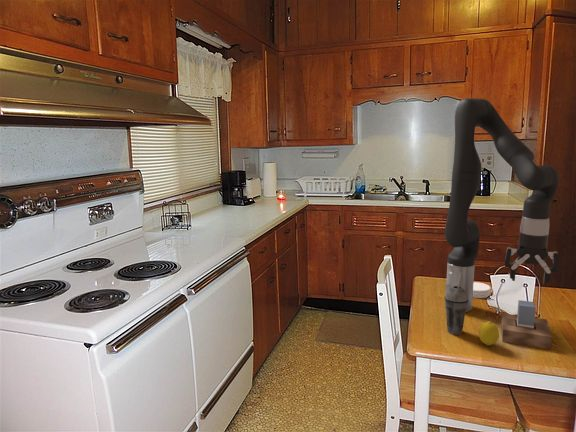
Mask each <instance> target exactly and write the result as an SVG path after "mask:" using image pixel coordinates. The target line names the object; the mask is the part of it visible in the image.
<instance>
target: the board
mask: <svg viewBox="0 0 576 432" xmlns="http://www.w3.org/2000/svg"><path fill="white" fill-rule="evenodd" d="M516 324H517V314H510V313H504V312H502V313H501V322H500V329H501V342H502V343H503V342H504V343H510V344H515V345H520V346H521V345H522V346H528V347H534V348H540V349H547V350H551V349H552V340H553V336H552V333H551V329H550V326H549V322H548V319H547V318H542V317H541V318H540V317H539V318H538V317H535V319H534V329H529V328H522V327H516Z"/></svg>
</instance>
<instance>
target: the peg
mask: <svg viewBox="0 0 576 432" xmlns="http://www.w3.org/2000/svg"><path fill="white" fill-rule="evenodd" d="M517 303H518V304H517V311H516V312H517V313H516V315H517V324H516V327H522V328H529V329H534V319H535V318H536V304H535V302H534V301H529V300H528V301H527V300H521V299H520V300H519V299H518V302H517Z"/></svg>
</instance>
